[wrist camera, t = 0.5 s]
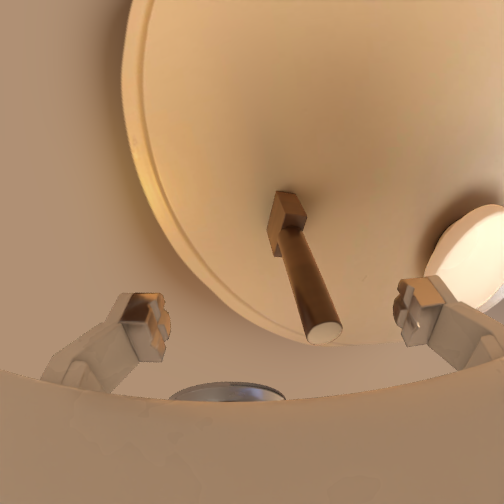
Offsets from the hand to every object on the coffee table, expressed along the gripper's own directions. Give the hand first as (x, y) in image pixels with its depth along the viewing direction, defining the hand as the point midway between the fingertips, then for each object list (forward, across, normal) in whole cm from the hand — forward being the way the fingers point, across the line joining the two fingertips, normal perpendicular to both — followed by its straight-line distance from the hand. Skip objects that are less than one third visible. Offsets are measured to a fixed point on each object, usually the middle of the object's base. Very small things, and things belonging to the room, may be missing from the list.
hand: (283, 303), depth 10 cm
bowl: (+28, +29, -14) cm, 43 cm away
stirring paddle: (+24, +1, -7) cm, 25 cm away
